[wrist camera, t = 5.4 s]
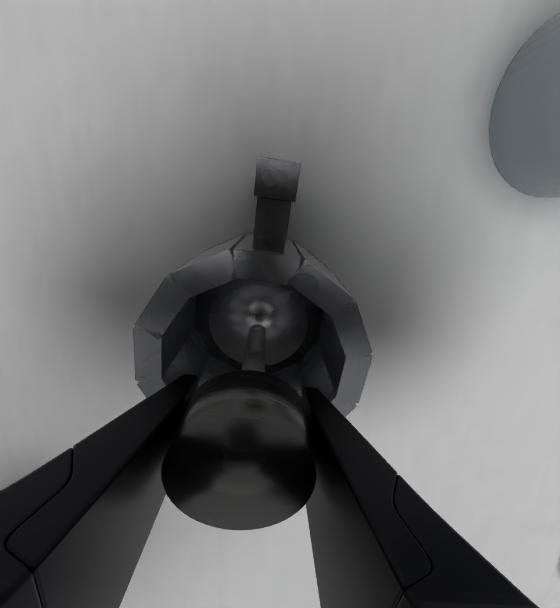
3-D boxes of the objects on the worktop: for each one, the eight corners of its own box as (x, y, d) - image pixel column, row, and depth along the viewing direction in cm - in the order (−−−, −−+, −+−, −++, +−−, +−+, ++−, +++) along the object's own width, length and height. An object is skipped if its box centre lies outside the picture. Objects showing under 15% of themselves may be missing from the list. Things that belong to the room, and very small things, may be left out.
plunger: (208, 355, 14) (126, 546, 6) (213, 266, 13) (112, 368, 5) (298, 365, 14) (329, 557, 7) (315, 279, 13) (382, 396, 5)
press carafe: (180, 371, 15) (138, 445, 10) (184, 162, 12) (123, 133, 7) (320, 386, 16) (341, 462, 11) (365, 191, 12) (423, 182, 8)
